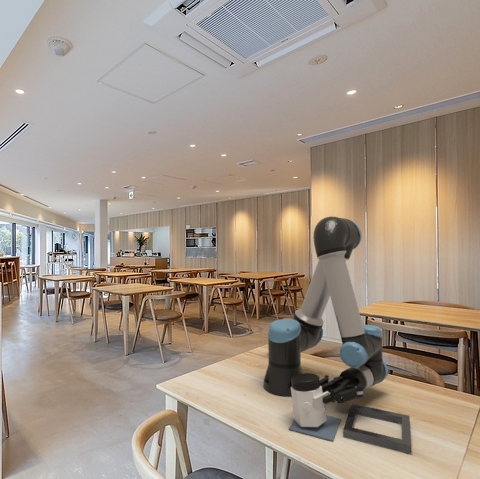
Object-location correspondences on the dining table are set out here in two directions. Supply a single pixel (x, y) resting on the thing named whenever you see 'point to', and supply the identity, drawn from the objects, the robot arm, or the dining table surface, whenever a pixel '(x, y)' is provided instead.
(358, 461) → the dining table surface
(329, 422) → the mat
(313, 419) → the jar
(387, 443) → the frame
